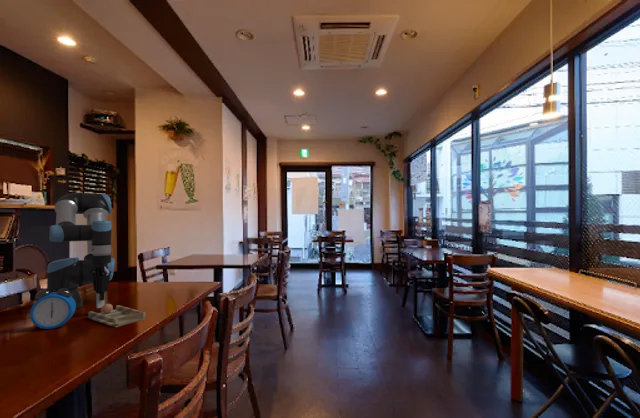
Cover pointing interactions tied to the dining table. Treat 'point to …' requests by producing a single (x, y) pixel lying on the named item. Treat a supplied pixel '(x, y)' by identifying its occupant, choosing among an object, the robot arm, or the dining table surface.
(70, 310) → the alarm clock
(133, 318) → the lane
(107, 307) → the ball
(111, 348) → the dining table surface
